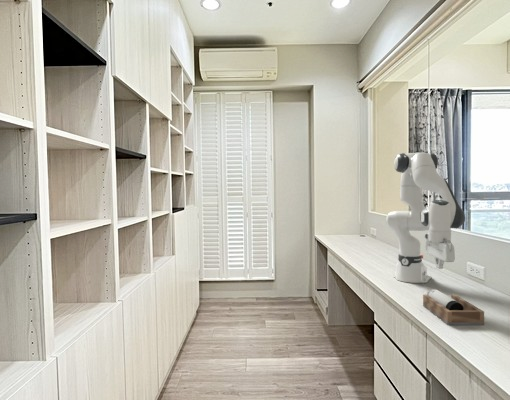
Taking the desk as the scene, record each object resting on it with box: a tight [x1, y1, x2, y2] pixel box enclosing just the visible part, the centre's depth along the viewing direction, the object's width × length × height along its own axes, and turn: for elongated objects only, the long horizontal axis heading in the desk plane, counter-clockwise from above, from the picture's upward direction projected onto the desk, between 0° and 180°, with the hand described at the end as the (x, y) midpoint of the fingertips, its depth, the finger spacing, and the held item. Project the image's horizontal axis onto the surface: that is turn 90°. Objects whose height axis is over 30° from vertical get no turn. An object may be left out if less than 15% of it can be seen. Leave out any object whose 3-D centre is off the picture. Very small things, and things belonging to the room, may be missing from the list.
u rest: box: [422, 293, 485, 326], centre depth 155 cm, size 22×14×5 cm, turn 179°
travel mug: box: [426, 288, 464, 310], centre depth 158 cm, size 6×7×20 cm
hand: (439, 268), depth 165 cm, fingers closed
